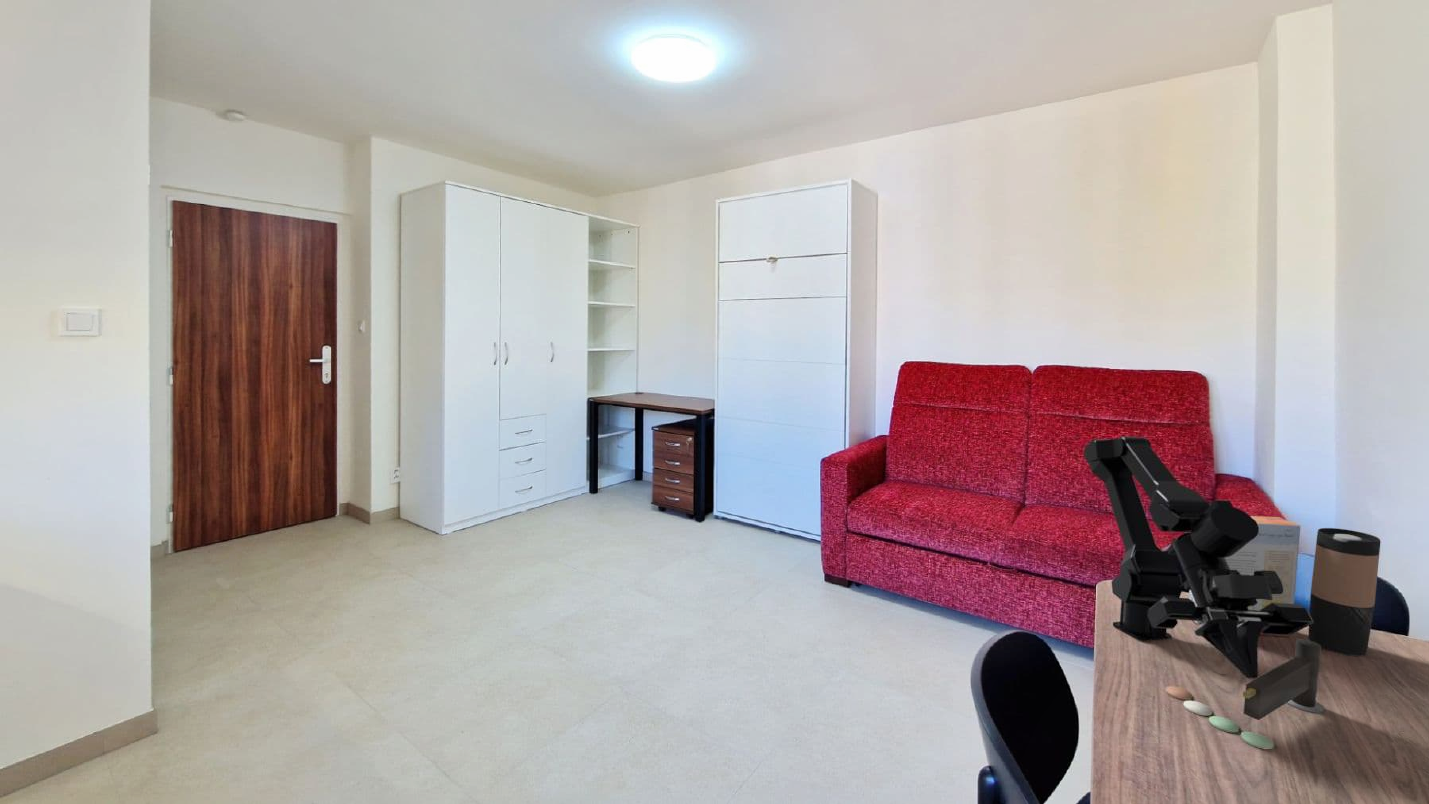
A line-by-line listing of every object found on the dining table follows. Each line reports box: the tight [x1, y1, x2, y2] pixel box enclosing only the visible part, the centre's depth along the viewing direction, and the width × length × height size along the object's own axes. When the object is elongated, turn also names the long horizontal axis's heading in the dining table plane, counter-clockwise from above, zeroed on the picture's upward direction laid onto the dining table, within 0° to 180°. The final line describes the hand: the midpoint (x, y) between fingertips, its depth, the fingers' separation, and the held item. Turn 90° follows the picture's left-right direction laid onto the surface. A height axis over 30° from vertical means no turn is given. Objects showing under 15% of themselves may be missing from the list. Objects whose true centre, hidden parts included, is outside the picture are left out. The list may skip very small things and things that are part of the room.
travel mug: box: [1308, 527, 1381, 657], centre depth 104 cm, size 8×8×20 cm
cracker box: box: [1188, 515, 1301, 638], centre depth 110 cm, size 14×6×21 cm, turn 77°
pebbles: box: [1164, 685, 1325, 749], centre depth 87 cm, size 14×20×1 cm
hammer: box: [1242, 638, 1322, 721], centre depth 83 cm, size 3×20×9 cm, turn 118°
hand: (1252, 678), depth 82 cm, fingers closed
